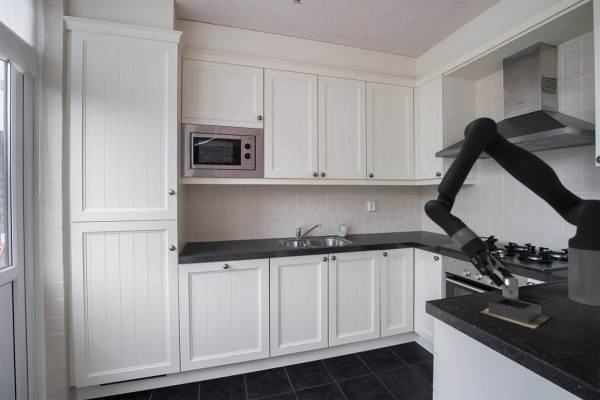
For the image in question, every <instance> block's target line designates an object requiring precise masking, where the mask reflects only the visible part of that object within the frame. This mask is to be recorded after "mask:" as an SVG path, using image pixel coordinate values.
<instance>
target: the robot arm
mask: <svg viewBox="0 0 600 400" xmlns="http://www.w3.org/2000/svg"><path fill="white" fill-rule="evenodd" d="M498 128H499V127H498V124H497V122H496V121H495V120H494V119H493V118H491V117H487V116H486V117H485V116H482V117H478V118H475V119H474V120H472V121H471V122H469V123H468V124H467V125H466V126H465V128H464V130H463V135H464V141H463V144H462V146H461V149H460V150H459V152H458V154H457V156H456V157H455V159H454V160H453V162H451V165H450V166H449V167H448V169H447V171H446V172H445V174H444V176H443V178H442V180H441V181H440V183H439V185H438V187H437V192H438V193H439V194H438V196H437V199H430V200H428V201H427V202H425V204H424V209H423V210H424V213H425V215H426V216H427V217H428V218H429V219H430V221H432V222H433V223H435V224H436V225H437V226H438V227H439V228H441V229H442V230H443V231H444V233H446V235H447V236H448V237H449V238H450V239H451V240H452V242H453V243H454V244H455V246H456V247H457V248H458V249H459V250H460V251H461V252H462V253H463V254H464V255H465V256H466V257H467V259H468V260H469V261H470V263H471V264H472V266H474V268H475V269H476V270H477V271H478V272H479V273H480V275H481V276H482V277H487V278H489V279H490V280H491V281H492V283H494V284H495V286H496V287H498V288H500V287H502V285H504V282H503V281H502V278H501V277H500V276H499V274H500V275H501V276H502V277H513V278H516V277H515V276H514V275H513V274H512V273H511V272H510V271H509V270H508V265H507V263H505V262H504V261H503V259H501V258H500V257H499V256H498V255H497V253H495V252H491V253H489V252H488V251H487V250H488V249H489V246H488V244H487V243H486V242H485V241H484V240H483V239H482V238H481V237H480V236H479V235H478V234H477V233H476V232H475V230H472V228H470V227H469V226H468V225H467V224H466V223H465V222H464V221H463V220H462V219H461V218H460V217H458V216H455V215H454V214H452V213H451V212H452V209H453V208H454V205H455V202H456V197H457V196H458V194H459V192H460V190H461V188H462V187H463V185H464V183H465V181H466V179H467V178H468V175H469V174H470V172H471V170H472V168H473V167H474V165H475V163H476V161H478V159H479V157H480V156H481V154H483V153H485V154H487V155H488V156H489V157H491V159H493V160H494V161H495V162H496V163H497V164H498V165H499V166H500V167H501V168H502V169H504V171H506V172H507V173H508V174H509V175H510V176H512V177H513V178H514V179H515V180H516V181H518V182H519V183H520V184H521V185H523V186H524V187H525V188H527V189H529V190H530V191H531V193H532V192H533V193H534V194H535V195H536V196H538V197H539V198H541V199H542V200H543V201H544V202H546V203H547V204H548V206H550V207H551V208H552V209H553V210H554V211H555V212H556V213H557V214H558V215H559V216H560V217H561V218H562V219H564V221H566V222H567V223H568V224H570V225H572V226H575V227H576V231H575V232H576V233H575V235H574V236H571V237H570V238H569V239H568V241H567V251H568V252H567V254H568V255H567V256H568V259H567V261H568V262H567V263H568V267H567V268H568V270H567V271H568V281H567V282H568V286H567V287H568V299H569V300H571V301H573V302H576V303H579V304H584V305H588V306H591V307H592V306H593V307H594V306H595V307H600V199H592V198H591V199H588V198H587V199H584V198H581V197H580V196H578V195H576V194H575V193H574V192H572V191H571V190H569V189H568V188H567V187H565V185H564V184H563V183H562V181H561V180H560V178H559V176H558V175H557V173H556V171H555V170H554V169H553V167H552V166H550V165H549V164H548V163H547V162H545V161H544V160H543V159H541V158H540V157H539V156H537V155H535V154H534V153H533V152H531V151H529V150H527V149H525V148H523V147H521V146H518V145H517V144H514V143H513V142H511V141H510V140H508V139H507V138H505V137H504V136H503V135H502V134H501V133H499V131H498ZM495 271H497V272H498V273H499V274H497V273H495Z"/></svg>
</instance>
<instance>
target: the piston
mask: <svg viewBox="0 0 600 400" xmlns="http://www.w3.org/2000/svg"><path fill="white" fill-rule="evenodd" d="M501 279H502V281H503V282H504V285H502V286H501V287H502V288H501V289H502V290H501V291H502V295H501V296H504V297H508V298H512V299H516V300H519V279H518V278H516V277H515V278H513V277H503V276H502V278H501Z"/></svg>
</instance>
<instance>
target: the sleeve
mask: <svg viewBox="0 0 600 400" xmlns="http://www.w3.org/2000/svg"><path fill="white" fill-rule="evenodd" d="M487 305H488V308H489V313H491V314H495V315H498V316H501V317H505V318H508V319H511V320H514V321H518V322H521V323H524V324H528V325H529V324H531V323H532V322H534V321H535V320H537V319H538V318H540V317H541V315H542V305H540V304H537V303H531V302H528V301H523V300H520V299H518V300H516V299H512V298H508V297H504V296H502V295H501V296H498V297H497V298H494V299H492V300H490V301H488V304H487Z"/></svg>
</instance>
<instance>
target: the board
mask: <svg viewBox="0 0 600 400" xmlns="http://www.w3.org/2000/svg"><path fill="white" fill-rule="evenodd" d="M480 313H481V314H485V315H488V316H490V317H494V318H498V319H500V320H504V321H507V322H511V323H514V324H518V325H521V326H523V327H527V328H530V329H536V328H538V327H539V326H540V325H542V324H543V323H544V322H546V321H547V320H549V319H550V316H547V315H543V314H541V317H540V318H538V319H537V320H535V321H534V322H532V323H531V324H529V325H528V324H524V323H521V322H518V321H514V320H511V319H508V318H505V317H501V316H498V315H495V314H491V313H489V307H488V308H485V309H484V310H482V311H480Z"/></svg>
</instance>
